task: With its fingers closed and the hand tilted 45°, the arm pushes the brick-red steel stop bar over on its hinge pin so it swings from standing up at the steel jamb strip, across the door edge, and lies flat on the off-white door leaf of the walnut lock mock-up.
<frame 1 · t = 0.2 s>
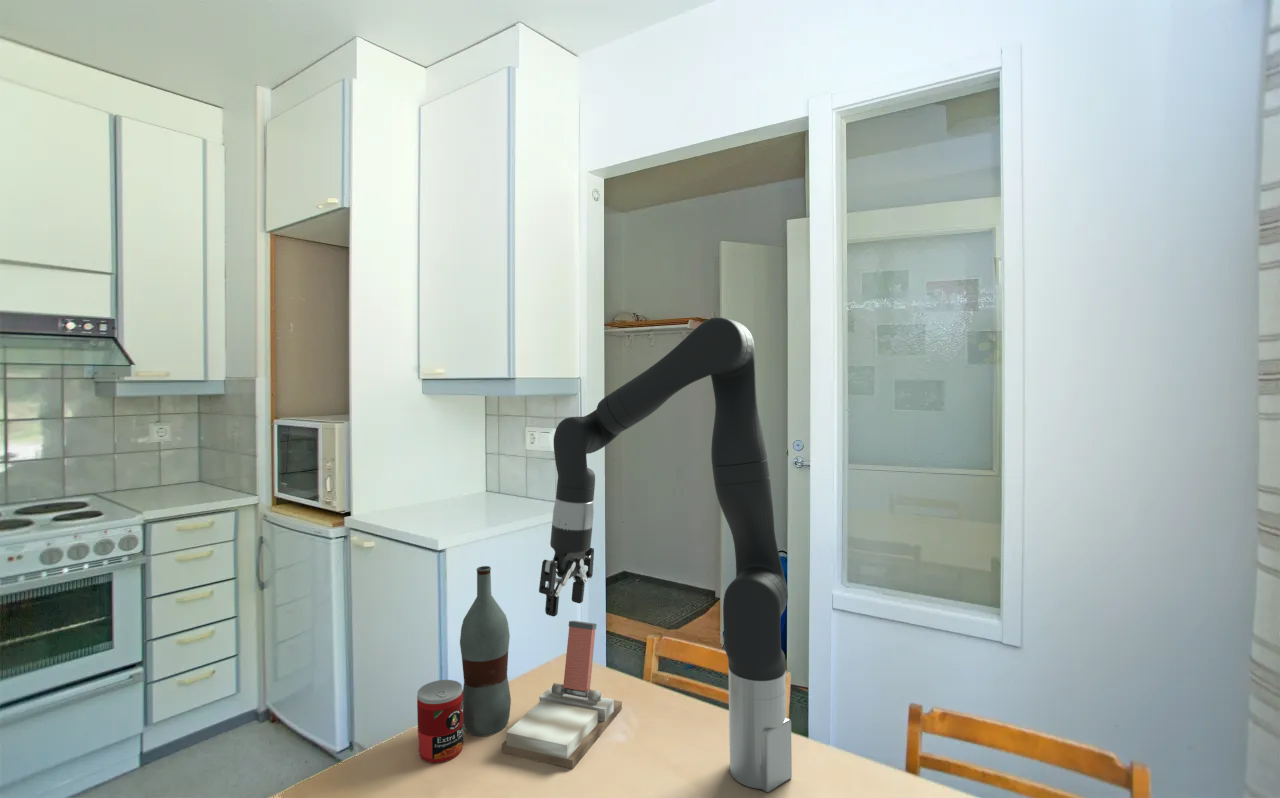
hand: (564, 608, 118), 23 cm above the table, tool pointing down, fingers open, 8 cm apart
canned food: (441, 752, 111), on the table
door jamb: (576, 717, 122), on the table
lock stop: (579, 658, 123), point 11 cm above the table, hinge at -15.0°
bottle: (486, 725, 120), on the table
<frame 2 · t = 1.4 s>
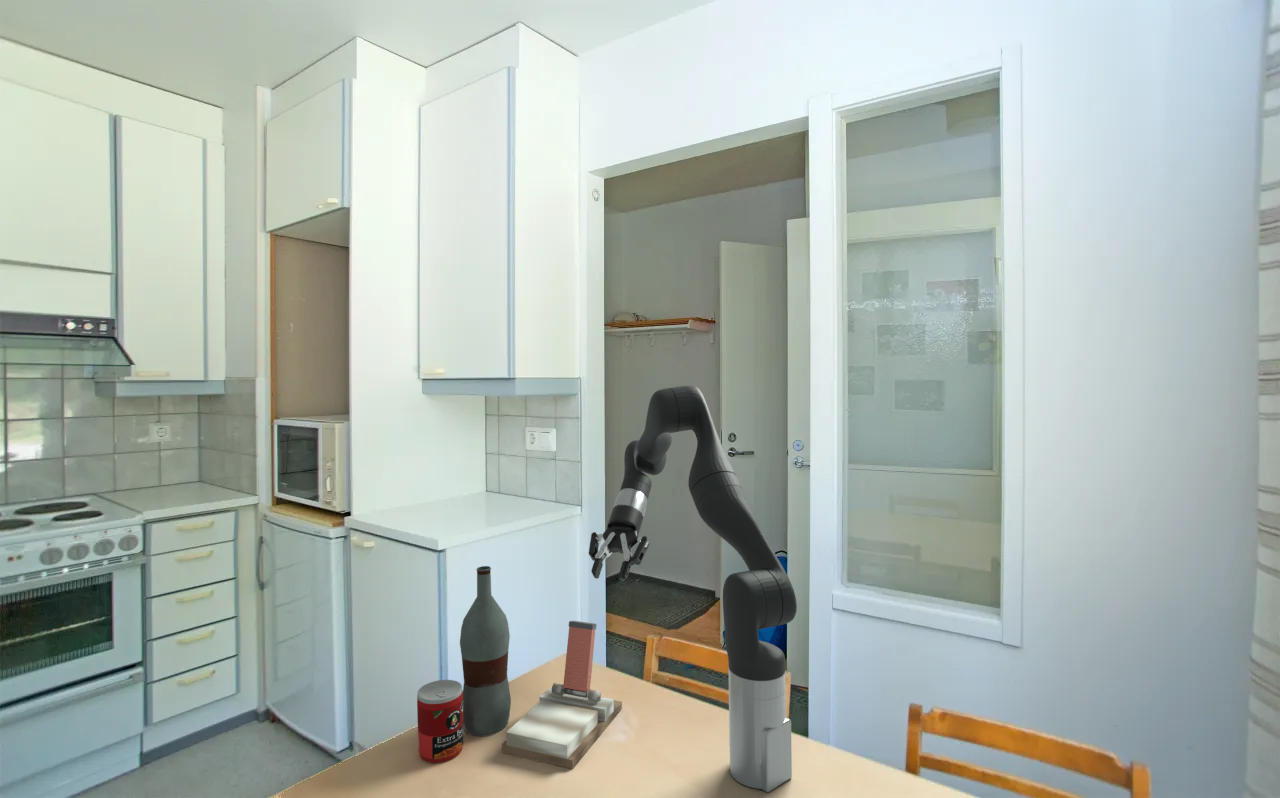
hand: (608, 577, 136), 23 cm above the table, tool tilted 45°, fingers open, 5 cm apart
nothing on the table moved.
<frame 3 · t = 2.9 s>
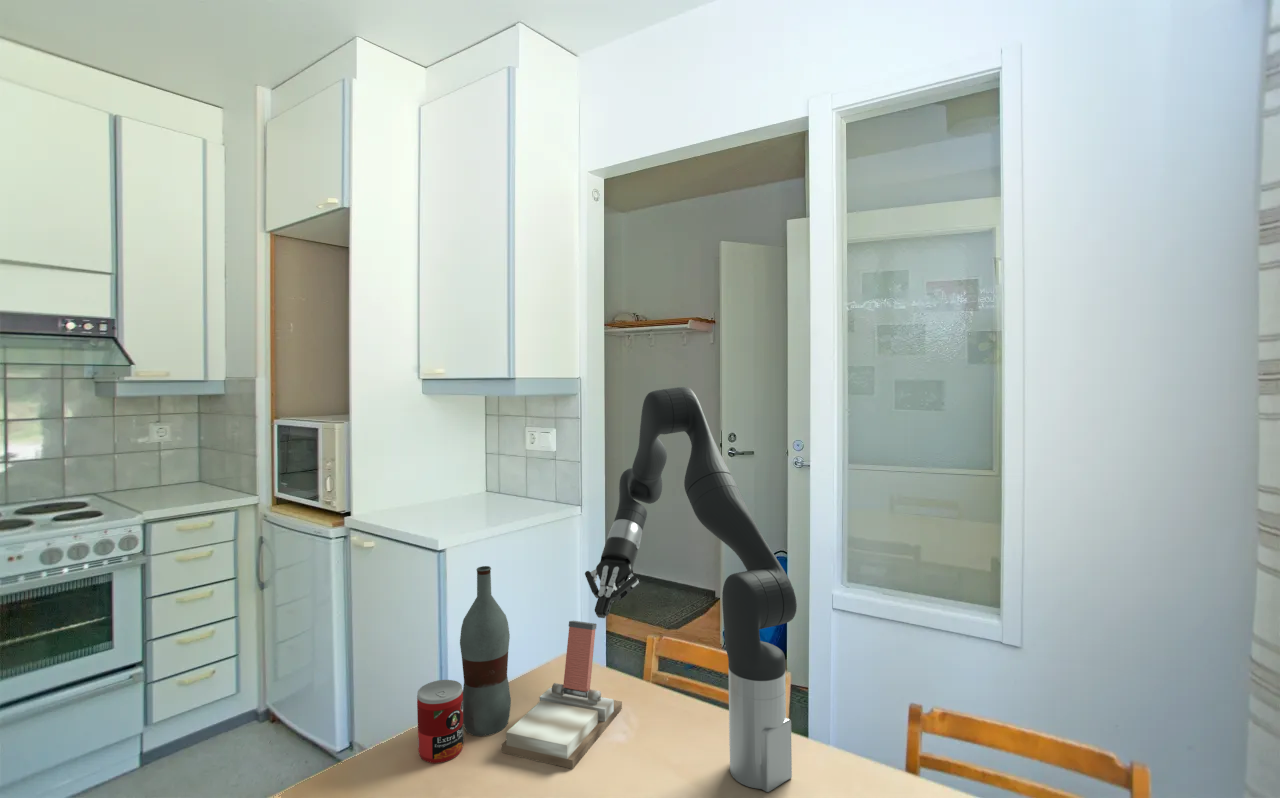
hand: (600, 616, 132), 16 cm above the table, tool tilted 45°, fingers closed
nothing on the table moved.
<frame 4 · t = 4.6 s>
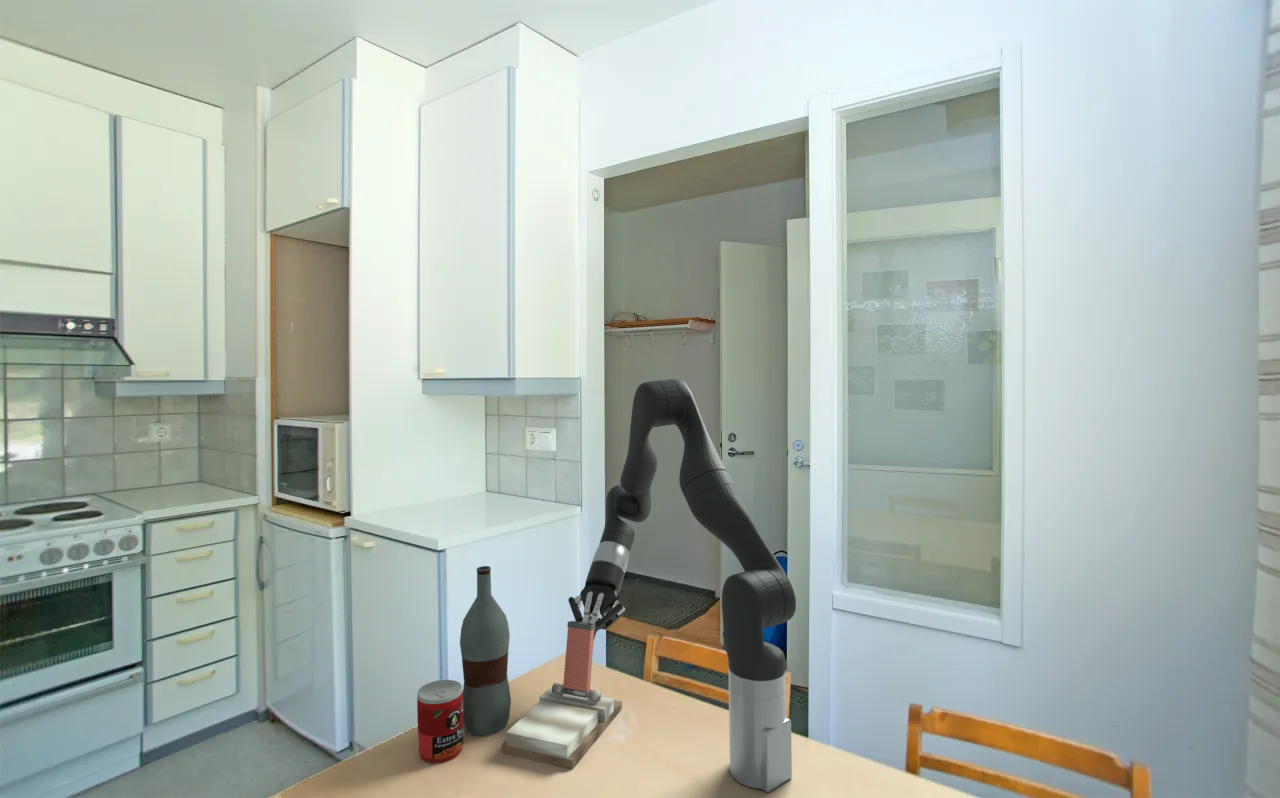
hand: (583, 646, 125), 13 cm above the table, tool tilted 45°, fingers closed
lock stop: (578, 659, 123), point 11 cm above the table, hinge at -12.5°, touching gripper
everything else where it was.
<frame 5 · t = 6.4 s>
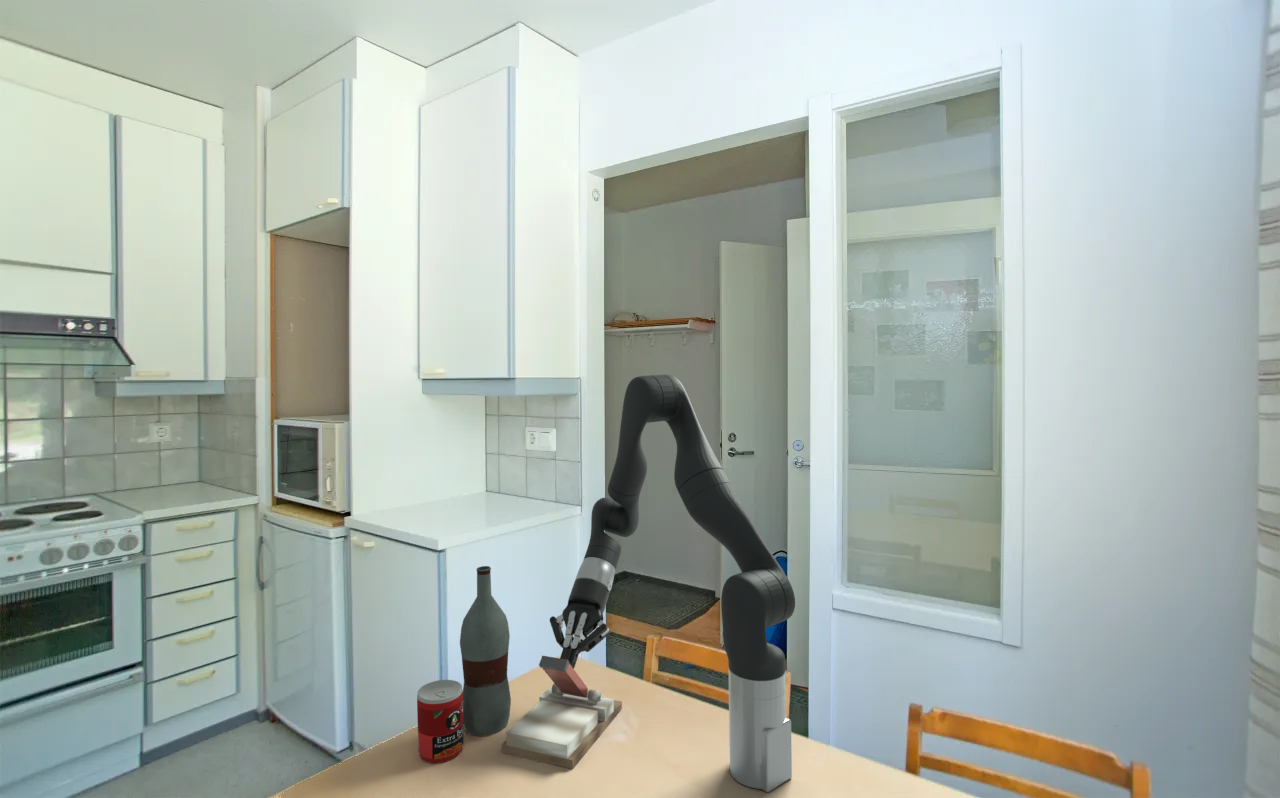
hand: (564, 670, 117), 11 cm above the table, tool tilted 45°, fingers closed
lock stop: (565, 678, 118), point 9 cm above the table, hinge at 43.0°, touching gripper
everything else where it was.
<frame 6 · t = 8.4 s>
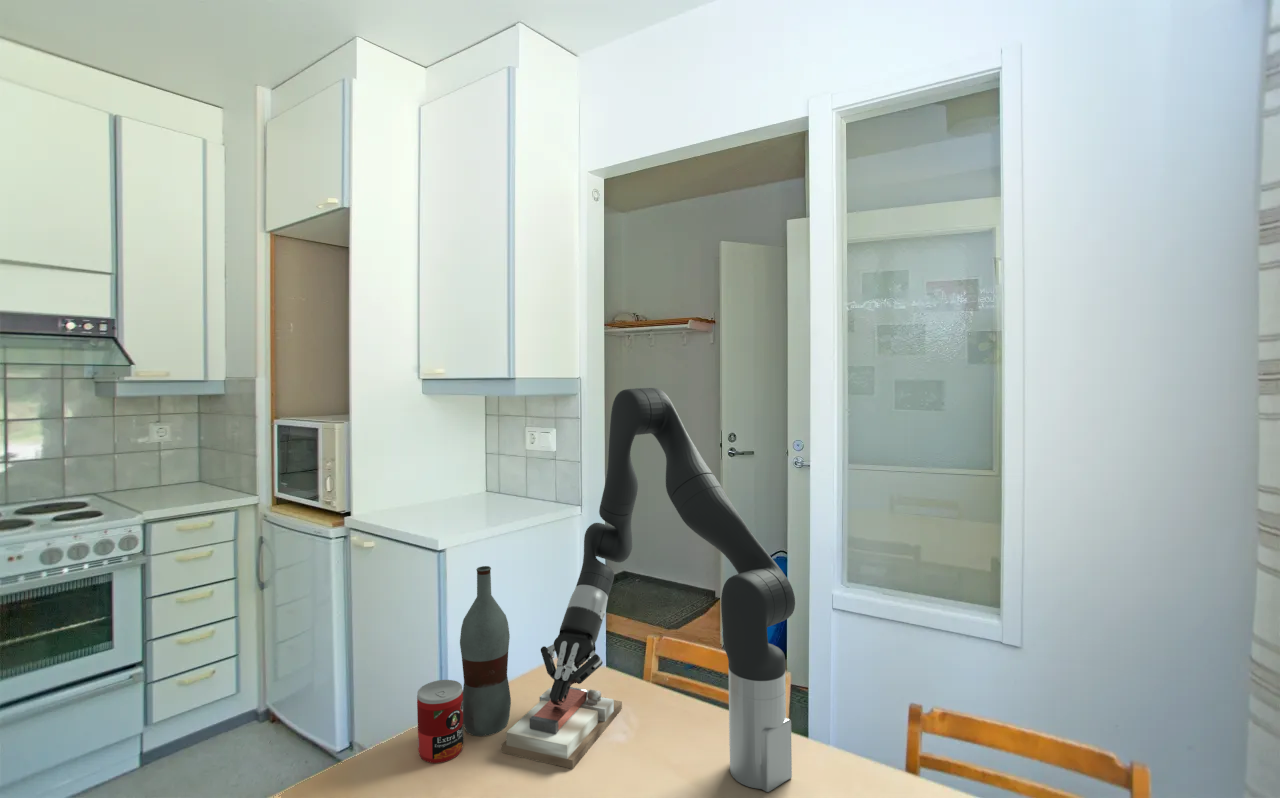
hand: (556, 703, 114), 7 cm above the table, tool tilted 45°, fingers closed
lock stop: (561, 707, 116), point 5 cm above the table, hinge at 90.8°
everything else where it was.
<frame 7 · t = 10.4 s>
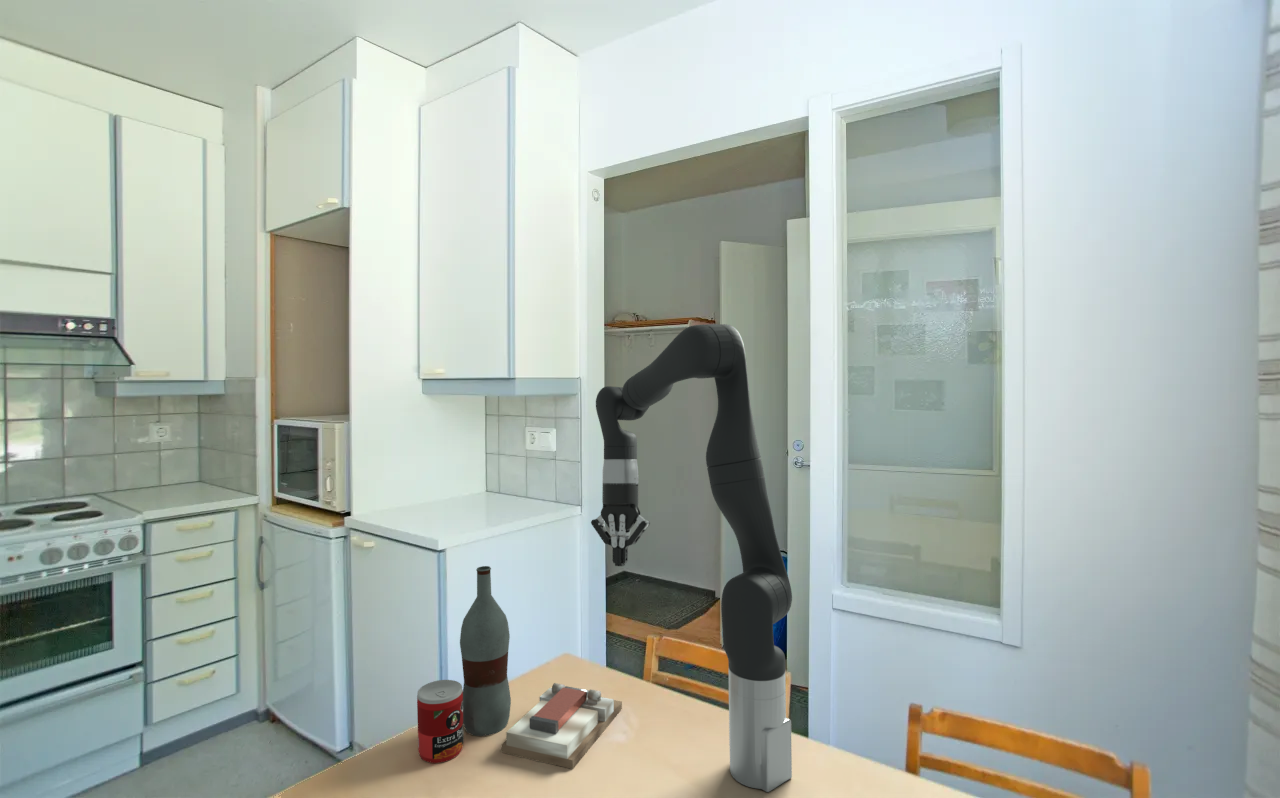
hand: (620, 565, 130), 27 cm above the table, tool pointing down, fingers closed
nothing on the table moved.
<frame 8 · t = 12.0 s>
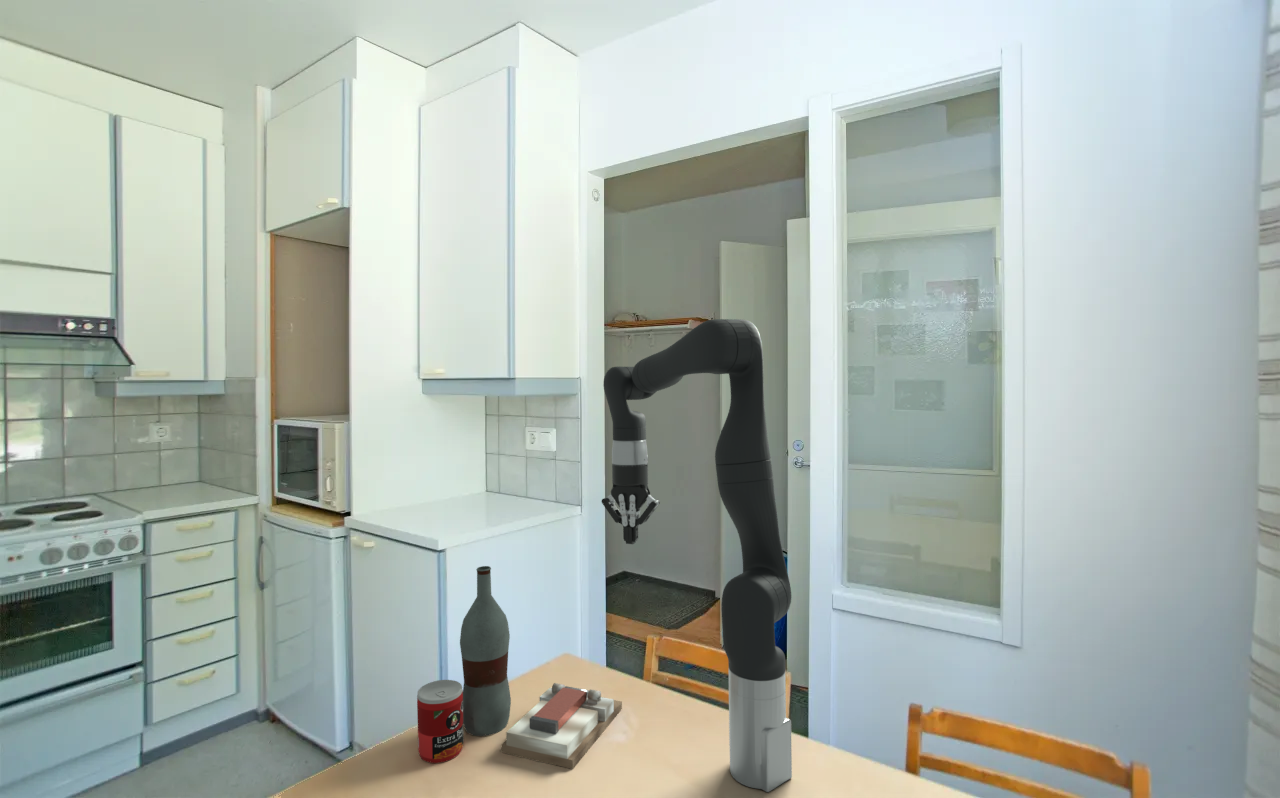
hand: (631, 543, 132), 31 cm above the table, tool pointing down, fingers closed
nothing on the table moved.
at the end: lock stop at +91° (first picture: -15°); bottle moved 0.2 cm from its start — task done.
